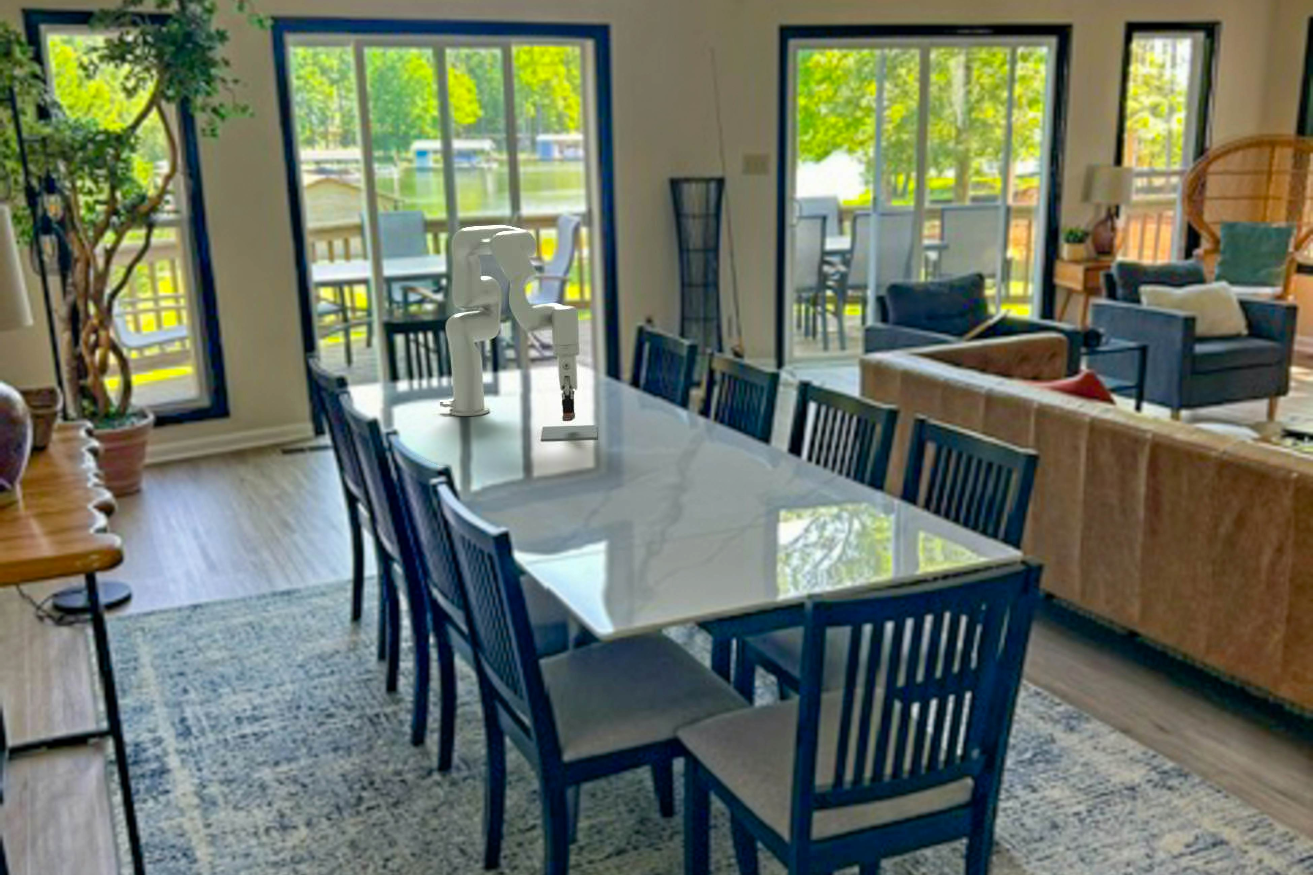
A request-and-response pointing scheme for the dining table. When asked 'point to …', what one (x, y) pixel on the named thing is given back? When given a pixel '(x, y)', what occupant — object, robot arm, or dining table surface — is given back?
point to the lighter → (568, 415)
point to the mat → (569, 433)
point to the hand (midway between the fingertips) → (568, 409)
